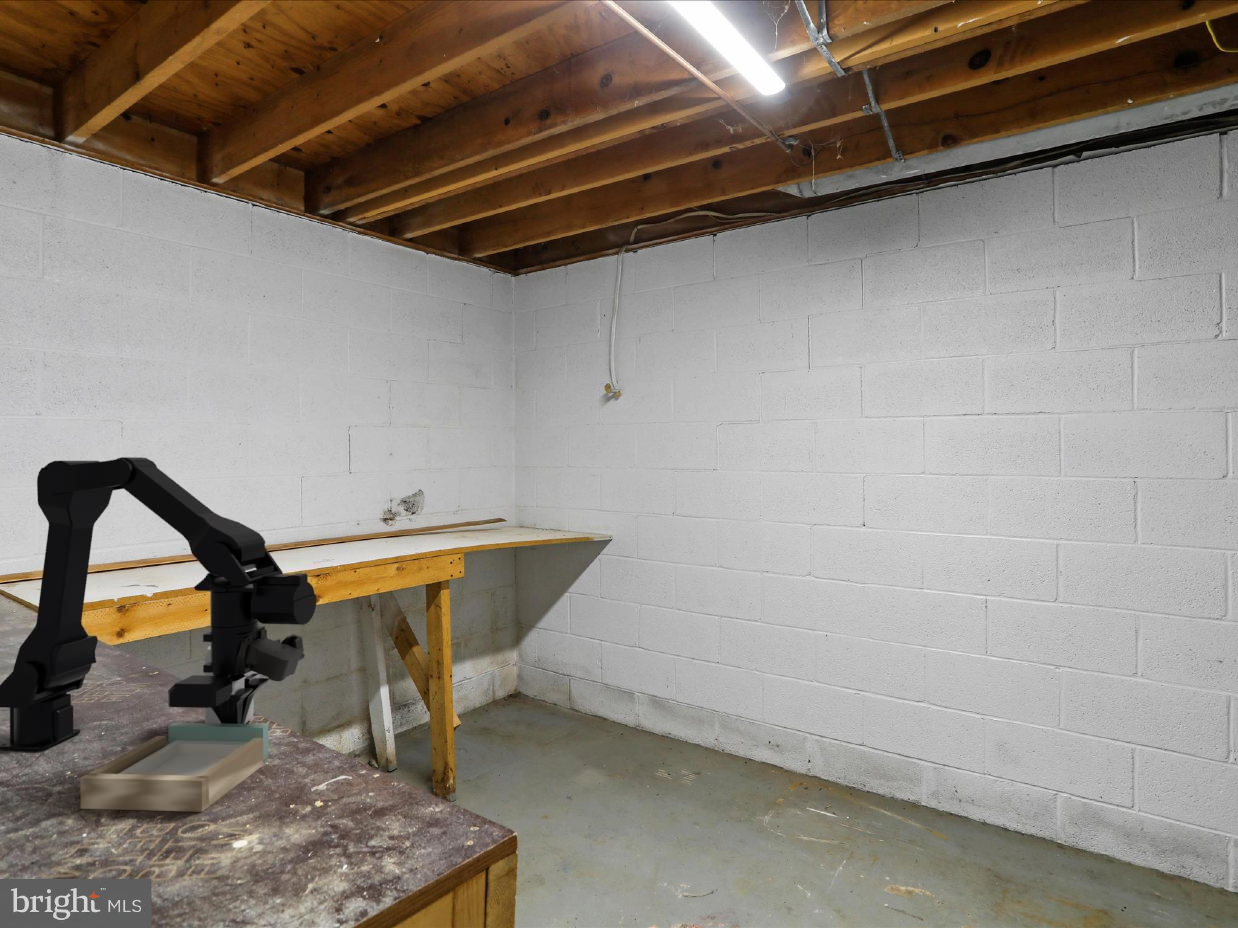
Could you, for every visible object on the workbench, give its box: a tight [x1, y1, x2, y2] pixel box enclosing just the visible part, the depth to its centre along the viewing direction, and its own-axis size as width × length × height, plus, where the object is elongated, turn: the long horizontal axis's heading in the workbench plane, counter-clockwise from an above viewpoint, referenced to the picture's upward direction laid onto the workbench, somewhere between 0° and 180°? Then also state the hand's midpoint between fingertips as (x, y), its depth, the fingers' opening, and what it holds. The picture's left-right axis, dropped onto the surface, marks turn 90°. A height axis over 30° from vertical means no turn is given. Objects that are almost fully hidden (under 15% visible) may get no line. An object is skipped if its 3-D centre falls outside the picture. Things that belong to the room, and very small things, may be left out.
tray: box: [118, 722, 269, 776], centre depth 88 cm, size 13×12×4 cm
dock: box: [80, 735, 264, 813], centre depth 85 cm, size 14×12×4 cm
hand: (235, 736), depth 95 cm, fingers closed
